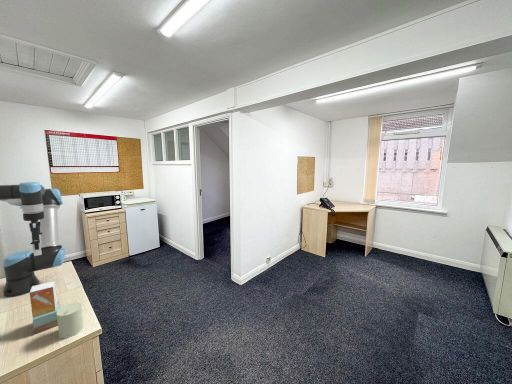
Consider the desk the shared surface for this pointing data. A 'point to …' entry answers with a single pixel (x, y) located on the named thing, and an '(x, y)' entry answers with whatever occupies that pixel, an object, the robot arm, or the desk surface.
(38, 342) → the desk surface
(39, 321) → the top slab
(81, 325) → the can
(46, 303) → the small box
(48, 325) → the bottom slab
